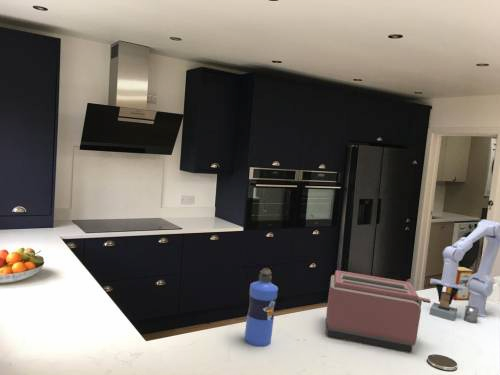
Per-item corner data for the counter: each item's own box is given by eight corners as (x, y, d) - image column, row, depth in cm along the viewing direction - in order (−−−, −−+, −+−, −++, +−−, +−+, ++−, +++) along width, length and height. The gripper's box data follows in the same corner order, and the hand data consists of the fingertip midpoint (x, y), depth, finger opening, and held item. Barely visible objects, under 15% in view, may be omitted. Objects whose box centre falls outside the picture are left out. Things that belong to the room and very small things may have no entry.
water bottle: (276, 340, 148) (285, 270, 146) (261, 349, 140) (270, 275, 138) (253, 331, 153) (262, 263, 151) (238, 339, 145) (247, 267, 143)
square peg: (440, 304, 198) (442, 291, 197) (449, 306, 196) (451, 293, 195) (439, 305, 195) (441, 293, 194) (448, 308, 193) (450, 295, 192)
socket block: (433, 308, 202) (433, 302, 202) (456, 315, 197) (457, 308, 197) (429, 314, 194) (430, 307, 193) (453, 321, 188) (454, 314, 188)
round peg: (464, 317, 195) (466, 304, 194) (477, 321, 192) (479, 308, 192) (463, 320, 190) (465, 307, 190) (476, 324, 188) (478, 311, 187)
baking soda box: (459, 295, 229) (464, 266, 227) (469, 300, 222) (474, 270, 221) (445, 295, 226) (449, 266, 224) (454, 300, 219) (459, 269, 218)
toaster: (428, 357, 149) (437, 300, 147) (323, 337, 156) (331, 282, 154) (418, 335, 168) (426, 284, 166) (325, 318, 175) (332, 268, 173)
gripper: (431, 271, 194) (426, 300, 195) (466, 279, 186) (461, 309, 188) (433, 268, 200) (429, 296, 201) (468, 276, 192) (463, 305, 194)
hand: (444, 302), depth 195 cm, fingers closed on square peg, 4 cm apart
